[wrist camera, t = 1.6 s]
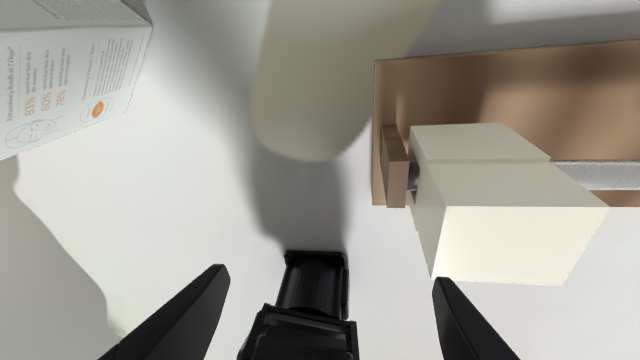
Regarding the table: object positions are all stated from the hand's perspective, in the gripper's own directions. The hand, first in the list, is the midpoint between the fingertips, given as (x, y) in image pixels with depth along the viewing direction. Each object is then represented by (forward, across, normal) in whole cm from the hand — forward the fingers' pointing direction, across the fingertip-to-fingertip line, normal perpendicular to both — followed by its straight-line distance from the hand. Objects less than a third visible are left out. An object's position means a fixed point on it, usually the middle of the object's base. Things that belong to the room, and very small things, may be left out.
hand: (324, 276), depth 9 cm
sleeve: (+9, -7, 0) cm, 12 cm away
